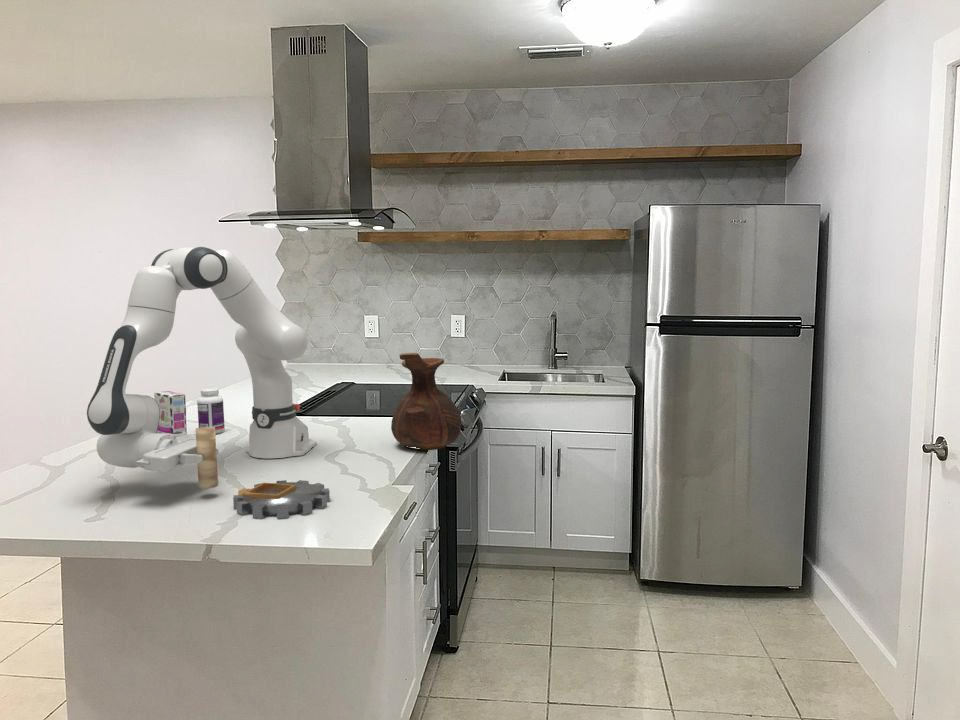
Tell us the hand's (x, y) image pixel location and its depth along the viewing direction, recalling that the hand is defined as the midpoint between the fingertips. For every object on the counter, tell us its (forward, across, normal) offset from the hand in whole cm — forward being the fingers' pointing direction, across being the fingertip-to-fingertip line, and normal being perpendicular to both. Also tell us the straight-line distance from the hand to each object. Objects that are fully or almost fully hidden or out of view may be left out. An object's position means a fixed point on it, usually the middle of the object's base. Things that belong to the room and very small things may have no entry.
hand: (210, 455), depth 185 cm
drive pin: (-1, 0, +8) cm, 8 cm away
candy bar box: (-42, +42, +11) cm, 60 cm away
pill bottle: (-41, +61, +11) cm, 74 cm away
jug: (+33, +62, +11) cm, 71 cm away
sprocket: (+19, 0, +10) cm, 22 cm away
